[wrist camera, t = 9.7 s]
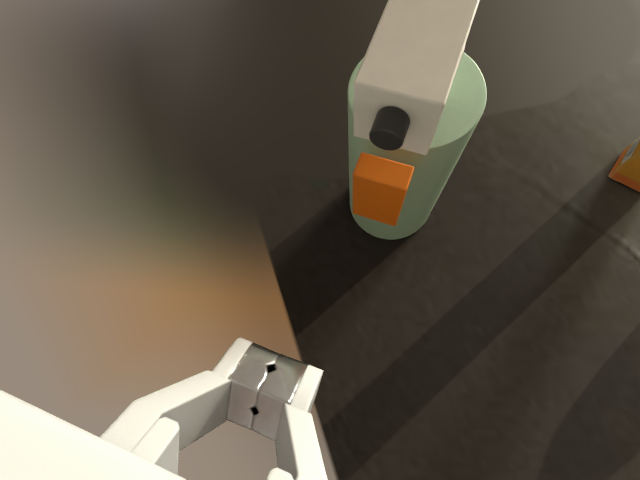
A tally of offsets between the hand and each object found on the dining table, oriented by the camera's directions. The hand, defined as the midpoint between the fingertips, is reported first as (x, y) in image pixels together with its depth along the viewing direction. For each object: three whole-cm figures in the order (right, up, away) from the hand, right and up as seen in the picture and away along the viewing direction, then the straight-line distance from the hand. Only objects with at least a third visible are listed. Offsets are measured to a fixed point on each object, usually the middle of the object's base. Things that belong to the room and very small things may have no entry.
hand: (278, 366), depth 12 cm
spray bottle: (+7, +6, +20) cm, 22 cm away
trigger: (+4, +6, +8) cm, 11 cm away
